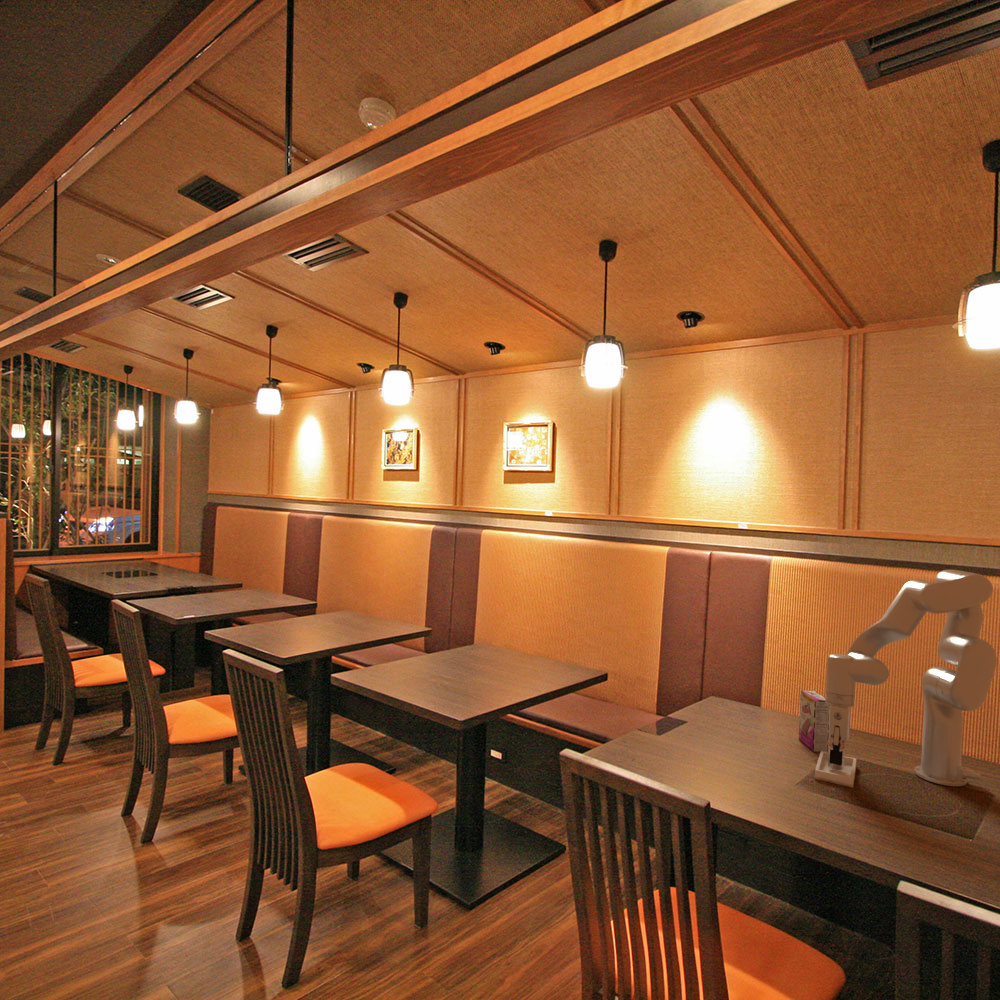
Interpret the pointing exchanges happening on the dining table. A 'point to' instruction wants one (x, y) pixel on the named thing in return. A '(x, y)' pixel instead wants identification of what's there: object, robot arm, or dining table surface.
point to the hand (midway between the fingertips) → (836, 760)
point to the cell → (842, 756)
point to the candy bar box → (814, 721)
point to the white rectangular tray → (836, 771)
